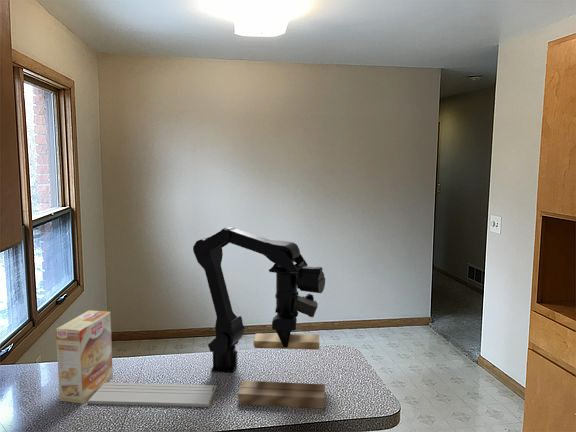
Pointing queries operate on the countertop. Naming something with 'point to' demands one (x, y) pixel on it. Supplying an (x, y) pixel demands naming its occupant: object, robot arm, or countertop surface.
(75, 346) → the coffeecake box
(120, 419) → the countertop surface
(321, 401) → the floor board
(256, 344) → the plank
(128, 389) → the baseboard molding
